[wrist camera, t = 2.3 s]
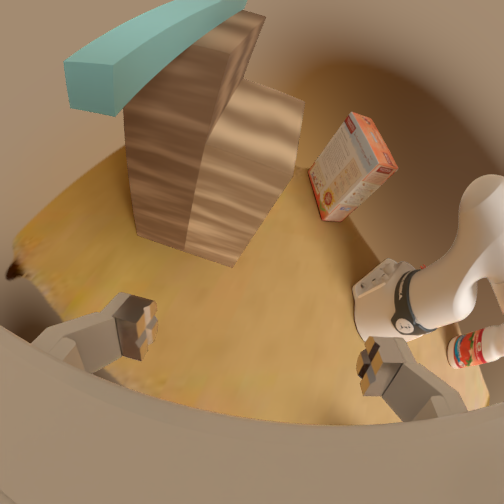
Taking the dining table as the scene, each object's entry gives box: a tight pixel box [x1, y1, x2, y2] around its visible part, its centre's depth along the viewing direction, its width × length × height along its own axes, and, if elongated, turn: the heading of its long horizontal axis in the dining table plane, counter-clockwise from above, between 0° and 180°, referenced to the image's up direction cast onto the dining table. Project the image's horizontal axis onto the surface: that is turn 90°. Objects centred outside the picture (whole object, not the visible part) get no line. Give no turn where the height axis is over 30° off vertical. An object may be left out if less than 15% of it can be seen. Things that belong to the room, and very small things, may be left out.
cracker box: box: [308, 112, 398, 222], centre depth 53 cm, size 14×6×21 cm, turn 8°
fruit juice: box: [447, 323, 504, 369], centre depth 45 cm, size 9×9×28 cm
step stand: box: [123, 10, 305, 268], centre depth 35 cm, size 15×18×36 cm
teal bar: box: [64, 0, 247, 117], centre depth 15 cm, size 26×3×3 cm, turn 167°
